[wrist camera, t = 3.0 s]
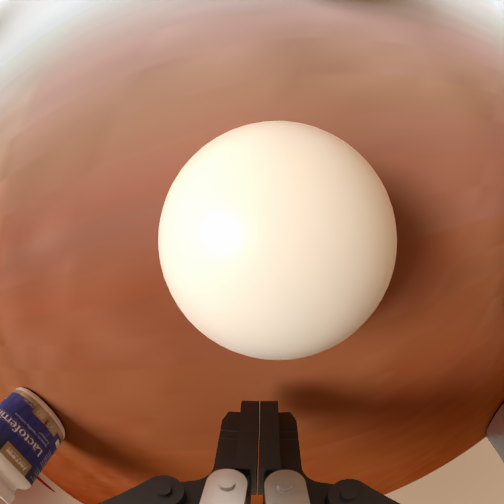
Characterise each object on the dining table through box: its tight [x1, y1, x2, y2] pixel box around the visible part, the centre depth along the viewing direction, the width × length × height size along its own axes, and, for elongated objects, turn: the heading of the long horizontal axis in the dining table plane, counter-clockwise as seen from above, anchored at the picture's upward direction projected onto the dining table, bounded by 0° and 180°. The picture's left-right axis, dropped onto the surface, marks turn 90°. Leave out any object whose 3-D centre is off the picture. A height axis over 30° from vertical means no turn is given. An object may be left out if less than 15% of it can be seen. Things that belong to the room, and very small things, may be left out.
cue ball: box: [158, 121, 397, 360], centre depth 7 cm, size 6×6×6 cm
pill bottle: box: [0, 387, 65, 504], centre depth 9 cm, size 6×6×10 cm
